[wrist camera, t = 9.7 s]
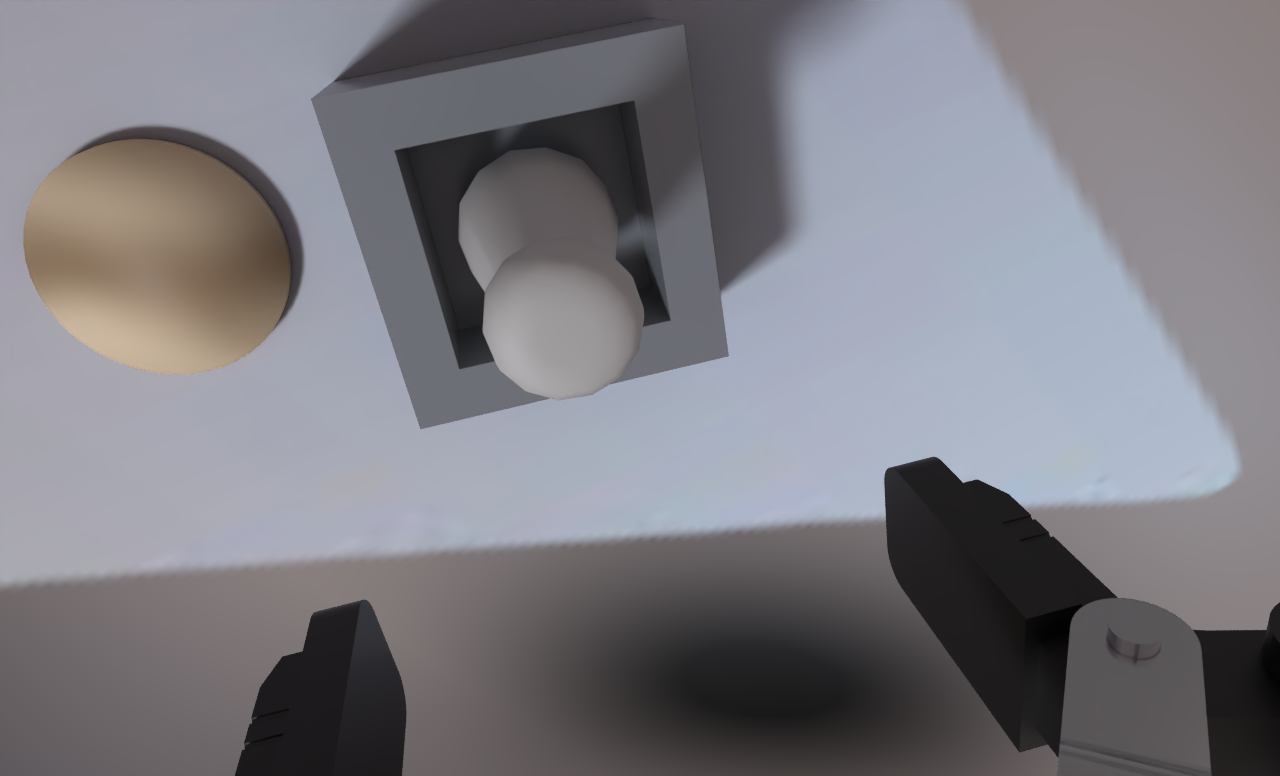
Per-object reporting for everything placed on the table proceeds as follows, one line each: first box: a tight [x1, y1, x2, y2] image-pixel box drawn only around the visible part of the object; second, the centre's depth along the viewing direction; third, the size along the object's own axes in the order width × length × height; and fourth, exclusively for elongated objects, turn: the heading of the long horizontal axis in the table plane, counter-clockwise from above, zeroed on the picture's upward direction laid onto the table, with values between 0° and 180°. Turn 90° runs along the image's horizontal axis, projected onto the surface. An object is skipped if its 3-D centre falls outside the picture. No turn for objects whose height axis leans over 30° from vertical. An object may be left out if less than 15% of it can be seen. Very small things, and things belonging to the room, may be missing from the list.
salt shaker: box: [458, 147, 644, 400], centre depth 28 cm, size 6×6×13 cm
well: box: [311, 18, 729, 429], centre depth 32 cm, size 12×12×5 cm
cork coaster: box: [24, 139, 292, 374], centre depth 32 cm, size 9×9×1 cm
